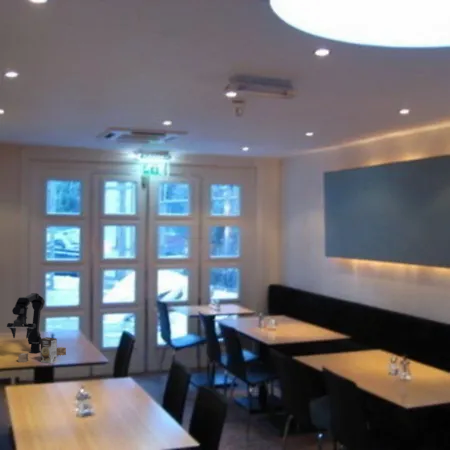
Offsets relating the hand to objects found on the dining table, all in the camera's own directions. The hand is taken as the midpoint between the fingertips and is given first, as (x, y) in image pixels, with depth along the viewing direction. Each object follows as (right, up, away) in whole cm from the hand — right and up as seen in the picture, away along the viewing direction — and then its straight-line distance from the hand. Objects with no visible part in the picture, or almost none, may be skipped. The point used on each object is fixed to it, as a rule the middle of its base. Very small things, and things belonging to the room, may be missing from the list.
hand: (20, 338), depth 416 cm
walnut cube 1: (+3, -16, -3) cm, 16 cm away
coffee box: (+21, -16, -4) cm, 26 cm away
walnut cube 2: (+23, -15, +17) cm, 33 cm away
